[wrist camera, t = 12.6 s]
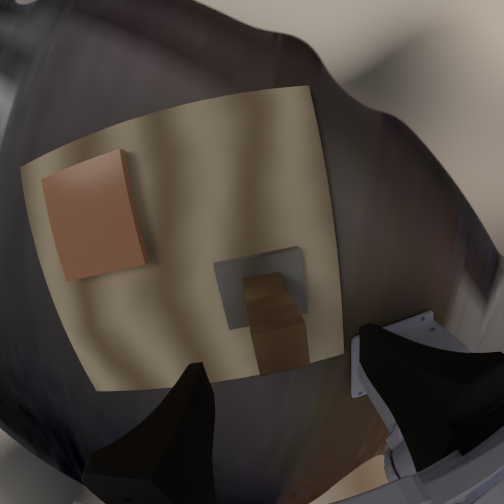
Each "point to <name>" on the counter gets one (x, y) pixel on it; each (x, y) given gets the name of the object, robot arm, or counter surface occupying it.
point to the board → (197, 236)
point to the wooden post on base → (268, 306)
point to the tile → (95, 217)
